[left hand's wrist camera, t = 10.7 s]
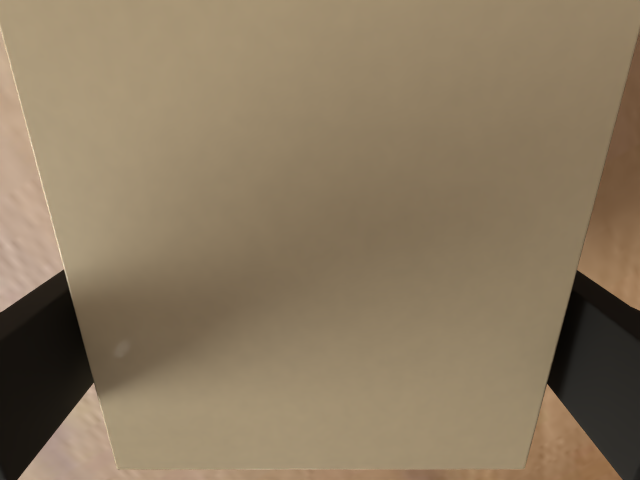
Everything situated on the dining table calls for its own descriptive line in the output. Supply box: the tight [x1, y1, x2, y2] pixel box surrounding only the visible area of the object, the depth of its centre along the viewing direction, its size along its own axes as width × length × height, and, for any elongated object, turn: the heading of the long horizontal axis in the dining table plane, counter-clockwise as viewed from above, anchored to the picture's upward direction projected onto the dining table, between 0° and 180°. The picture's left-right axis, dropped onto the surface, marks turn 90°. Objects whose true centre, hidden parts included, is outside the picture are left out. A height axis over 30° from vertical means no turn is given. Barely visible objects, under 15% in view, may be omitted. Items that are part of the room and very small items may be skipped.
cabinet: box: [0, 0, 640, 470], centre depth 11 cm, size 21×10×10 cm, turn 0°
